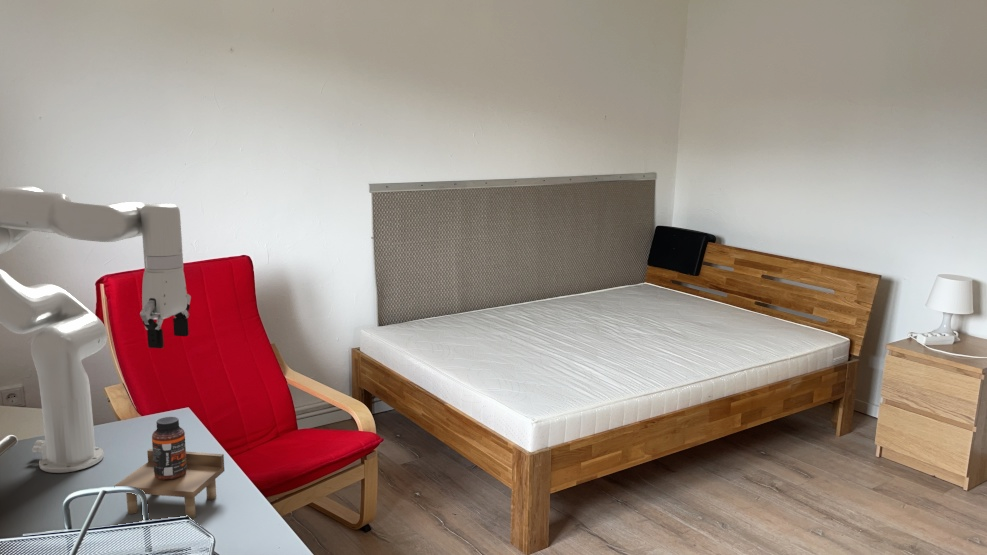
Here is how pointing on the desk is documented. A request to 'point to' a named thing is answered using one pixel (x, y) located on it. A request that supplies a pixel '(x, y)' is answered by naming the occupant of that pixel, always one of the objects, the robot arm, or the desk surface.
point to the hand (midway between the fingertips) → (169, 341)
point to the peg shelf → (177, 480)
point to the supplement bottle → (169, 449)
